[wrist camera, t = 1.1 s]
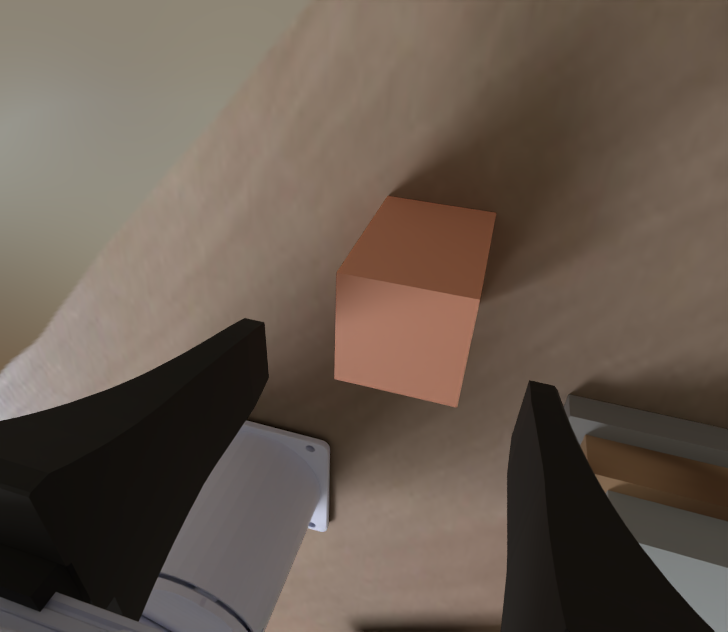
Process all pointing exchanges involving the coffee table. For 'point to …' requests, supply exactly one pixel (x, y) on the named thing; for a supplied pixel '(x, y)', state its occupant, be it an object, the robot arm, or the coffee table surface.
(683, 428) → the tower base slab
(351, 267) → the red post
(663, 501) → the tower middle slab
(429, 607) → the coffee table surface
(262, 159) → the coffee table surface
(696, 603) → the tower top slab
